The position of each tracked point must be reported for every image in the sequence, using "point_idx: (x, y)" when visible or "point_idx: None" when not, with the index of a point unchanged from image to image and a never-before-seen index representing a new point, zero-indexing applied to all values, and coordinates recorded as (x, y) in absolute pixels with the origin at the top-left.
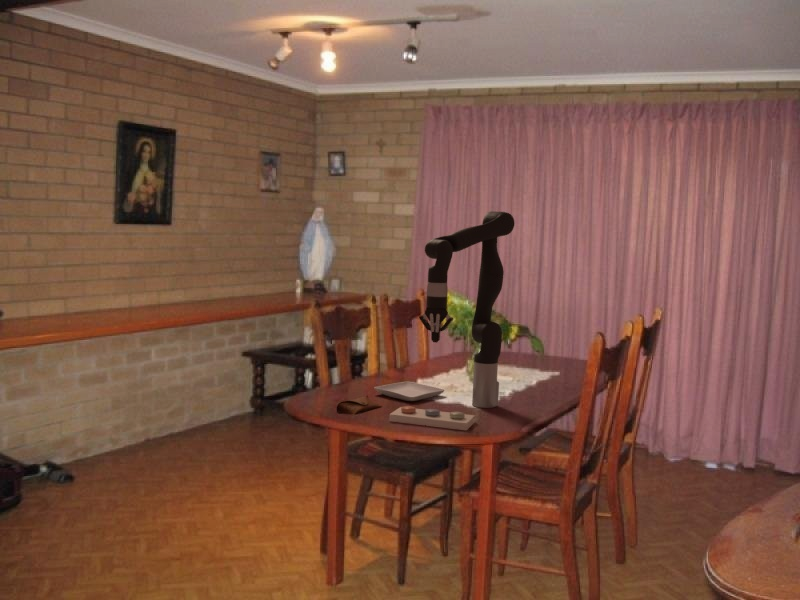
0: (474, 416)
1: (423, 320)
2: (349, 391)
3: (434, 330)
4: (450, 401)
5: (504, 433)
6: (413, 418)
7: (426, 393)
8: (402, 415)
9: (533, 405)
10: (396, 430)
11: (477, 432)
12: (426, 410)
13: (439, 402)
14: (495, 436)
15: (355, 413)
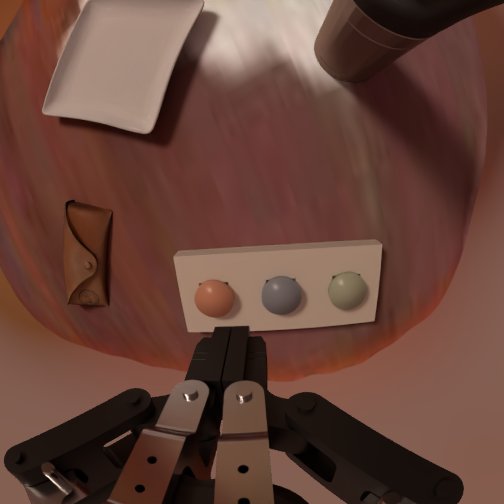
0: (381, 248)
1: (88, 486)
2: (14, 128)
3: (218, 428)
4: (244, 48)
5: (437, 292)
6: None
7: (171, 70)
8: None
9: None
10: None
11: (391, 313)
12: (266, 303)
13: (220, 74)
14: (422, 319)
15: (107, 303)
